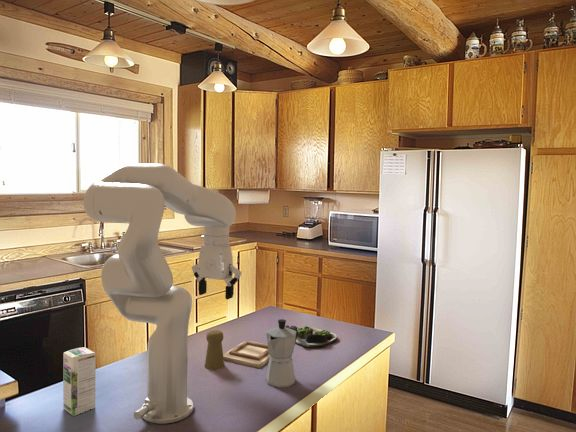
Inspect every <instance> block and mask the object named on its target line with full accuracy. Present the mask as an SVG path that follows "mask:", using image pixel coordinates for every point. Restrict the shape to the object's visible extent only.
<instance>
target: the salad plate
mask: <svg viewBox="0 0 576 432" xmlns="http://www.w3.org/2000/svg"><path fill="white" fill-rule="evenodd" d="M296 327H297V330H298V335H297V339H296V342H295V344H296V343H297V344H296V345H300V346H301V345H302V346H301V347H304V348H308V349H321V348H324V347H328V346H330V345H332V344H334V343H335V342H336V341H338V335H337V334H336V333H334V332H330V331H328V330H325V329H321V328H317V327H311V326H310V327H309V326H307V325H304V326H301V327H299V326H296ZM313 332H315V333H313ZM328 340H329V341H328Z"/></svg>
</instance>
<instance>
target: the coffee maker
mask: <svg viewBox="0 0 576 432" xmlns="http://www.w3.org/2000/svg"><path fill="white" fill-rule="evenodd" d="M277 322H278V326H277V327H274V328H270V329H268V330H267V332H266V339H267V340H266V341H267V345H268V351H269V355H270V356H271V357H270V358H269V361H268V362H267V363H268V365H267V370H266V375H265V381H266V383H267V385H269V386H271V387H275V388H278V389H279V388H288V387H291V386H292V385H294V384H295V383H296V375H295V369H294V360H293V358H292V357H293V355H294V351H295V350H294V349H295V344H296V343H295V342H296V339H297V335H298V328H297V327H298V326H296V325H291V326H289V325H288V324H286V322H287V320H286V319H278V320H277Z"/></svg>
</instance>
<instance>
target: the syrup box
mask: <svg viewBox="0 0 576 432" xmlns="http://www.w3.org/2000/svg"><path fill="white" fill-rule="evenodd" d="M62 356H63V358H62V359H63V364H62V365H63V367H62V368H63V370H62V371H63V378H62V379H63V380H62V381H63V389H62V391H63V394H62V395H63V399H62V400H63V404H62V405H63V407H62V408H63V409H64V410H65V411H66V412H68V413H69V414H70V415H71V416H73V417H75V416H78V415H80V413H81V414H83V413H86V412H88V411H90V409H91V410H92V409H95V408H96V352H95V351H92V350H91V349H90V348H87V347H76V348H73V349H69V350H67V351H64V352H63V355H62ZM85 411H86V412H85Z"/></svg>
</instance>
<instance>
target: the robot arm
mask: <svg viewBox="0 0 576 432" xmlns="http://www.w3.org/2000/svg"><path fill="white" fill-rule="evenodd" d="M84 193H85V194H84V196H83V201H82V202H83V203H82V205H83V210H84V212H85V213H86V215H87V216H88V217H89V218H91V220H94V221H96V222H101V223H111V224H112V223H114V224H128V227H127V229H126V230H125V233H124V234H123V236H122V237H121V239H120V240H119V242H118V246H117V254H114V255H112V256H110V257H109V258H107V260H106V261H105V262H103V263H104V264H103V266H102V268H101V272H100V273H101V274H100V275H101V284H102V287H103V290H104V291H105V293H106V295H107V296H108V298H109V299H110V301H111V303H113V305H114V307H115V308H116V310H117V311H118V312H119V314H120V315H121V317H123V318H124V319H126V320H128V321H132V322H136V323H137V322H139V323H146V324H147V323H148V324H151V325H156V329H155V330H154V331H153V333H152V334H151V335H150V337H149V338H148V340H147V341H148V342H147V397H146V398H145V399H144V403H143V404H142V405H141V408H139V409H137V410H136V411H134V413H133V418H134V419H135V420H136V421H139V420H140V419H141V418H143V419H144V420H145V421H146V422H149V423H152V424H158V425H159V424H160V425H161V424H171V423H176V422H179V421H182V420H184V419H186V418H187V417H189V416H191V414H192V413H193V411H194V402H193V400H192V399H191V398H189V397H188V353H189V351H188V341H189V340H188V339H189V338H188V334H189V326H190V325H189V324H190V318H191V312H192V306H193V298H192V295H191V293H190V292H189V291H188V290H187V289H186V288H183V287H182V286H178V285H174V277H173V273H172V270H171V268H170V266H169V263H168V262H167V259H166V257H165V255H164V253H163V251H162V250H161V247H160V245H159V241H158V238H159V237H158V236H159V232H160V228H161V224H162V220H163V215H164V212H165V207H166V208H167V209H169V210H171V211H172V212H173V213H176V214H179V215H184V219H185V221H186V222H187V223H188V224H189V225H191V226H195V227H203V235H201V237H200V238H201V240H202V241H203V243H201V245H200V249H199V254H198V255H199V256H198V263H196V264H195V265H193V266H191V270H192V273H193V276H194V277H195V278H196V282H198V286H197V287H198V289H197V290H198V295H199V296H202V295H205V294H207V290H208V288H207V287H208V286H207V285H208V284H207V280H206V279H209V280H210V279H212V280H219V281H222V280H224V282H225V284H226V286H225V295H224V296H225V300H231V299H232V298H233V297H234V294H235V293H234V288H235V285H236V283H238V282H239V281H240V278H241V275H242V271H241V270H239V269H238V268H237V267H235V266H234V261H233V252H232V251H233V250H232V246H231V244H230V227H231V226H232V225H234V223H235V221H236V216H237V215H236V208H235V205H234V204H233V202H232V201H231V200H230V199H229V198H228V197H227V196H225V194H224V195H223V194H222V193H220V192H218V191H215V190H212V189H209V188H206V187H204V186H200V185H197V184H195V183H192V182H191V181H189V179H187V178H186V177H184V176H183V175H182V174H181V173H179V171H177V170H176V169H175V168H173V167H172V166H169V165H166V164H163V163H138V162H137V163H135V162H133V163H132V162H131V163H127V164H124V165H122V166H120V167H118V168H117V169H114V170H113V171H111V172H109V173H108V174H106V175H105V176H103V177H101V178H100V179H98V180H96V181H95V182H93V183H92V184H91V185H90V186H89V187H88V188H87V189H86V191H85V192H84ZM233 274H234V277H233Z"/></svg>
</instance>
